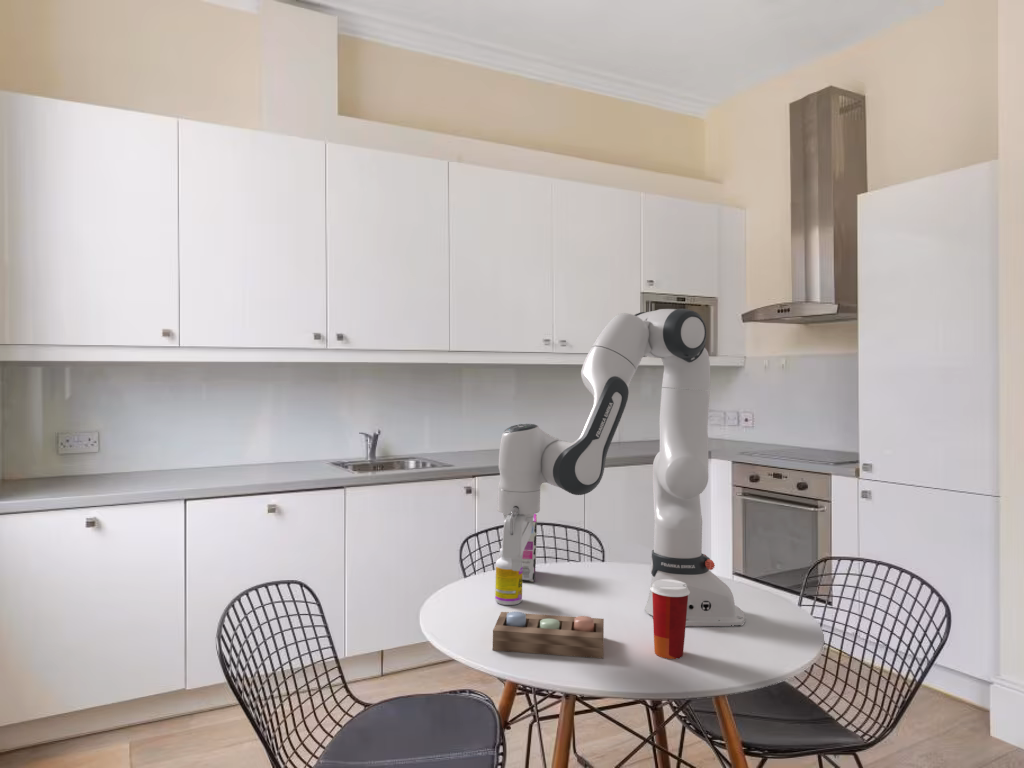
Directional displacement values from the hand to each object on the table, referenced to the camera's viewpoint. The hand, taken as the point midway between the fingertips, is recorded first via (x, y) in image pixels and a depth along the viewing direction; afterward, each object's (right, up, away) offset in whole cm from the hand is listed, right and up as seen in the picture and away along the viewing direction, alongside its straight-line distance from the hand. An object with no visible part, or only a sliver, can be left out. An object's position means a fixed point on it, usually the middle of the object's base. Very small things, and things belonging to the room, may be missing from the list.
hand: (516, 569), depth 143 cm
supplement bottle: (-2, -15, +25) cm, 29 cm away
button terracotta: (+14, -12, -2) cm, 19 cm away
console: (+7, -15, -1) cm, 17 cm away
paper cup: (+30, -16, -4) cm, 35 cm away
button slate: (0, -12, 0) cm, 12 cm away
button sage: (+7, -13, -1) cm, 15 cm away
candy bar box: (+3, -15, +47) cm, 49 cm away
